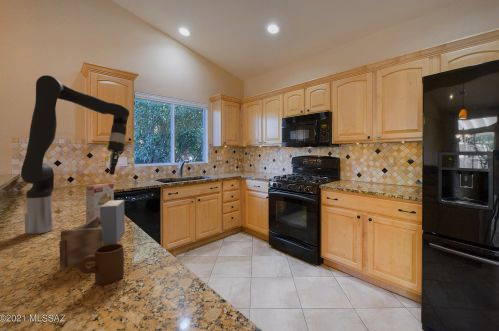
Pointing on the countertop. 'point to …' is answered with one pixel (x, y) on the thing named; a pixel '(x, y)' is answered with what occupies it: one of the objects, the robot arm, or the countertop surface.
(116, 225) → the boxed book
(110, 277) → the mug
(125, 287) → the countertop surface
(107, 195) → the cracker box
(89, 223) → the shelf corner
